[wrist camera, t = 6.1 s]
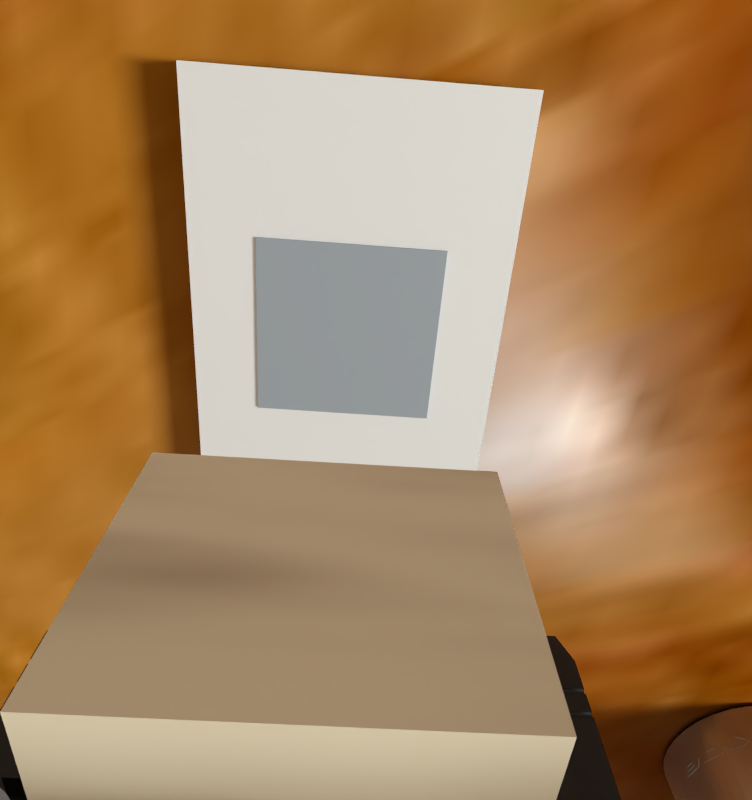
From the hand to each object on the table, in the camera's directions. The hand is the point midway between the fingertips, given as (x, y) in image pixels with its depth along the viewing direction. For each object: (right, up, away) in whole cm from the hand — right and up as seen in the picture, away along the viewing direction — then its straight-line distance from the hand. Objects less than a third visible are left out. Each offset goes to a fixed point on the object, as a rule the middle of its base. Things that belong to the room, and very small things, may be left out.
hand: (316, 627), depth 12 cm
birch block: (0, 0, +1) cm, 1 cm away
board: (0, +7, +14) cm, 16 cm away
